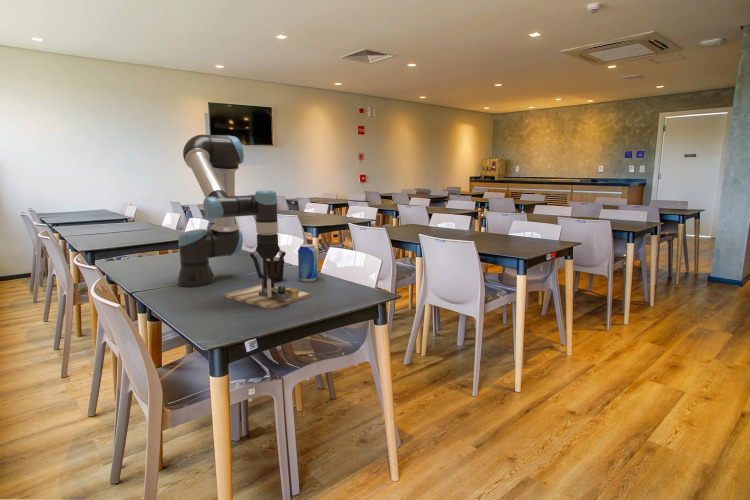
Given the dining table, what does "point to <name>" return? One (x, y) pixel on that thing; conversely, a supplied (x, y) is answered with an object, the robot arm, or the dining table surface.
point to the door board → (265, 296)
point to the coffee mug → (275, 269)
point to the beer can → (307, 262)
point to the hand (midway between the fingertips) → (269, 296)
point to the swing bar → (278, 293)
